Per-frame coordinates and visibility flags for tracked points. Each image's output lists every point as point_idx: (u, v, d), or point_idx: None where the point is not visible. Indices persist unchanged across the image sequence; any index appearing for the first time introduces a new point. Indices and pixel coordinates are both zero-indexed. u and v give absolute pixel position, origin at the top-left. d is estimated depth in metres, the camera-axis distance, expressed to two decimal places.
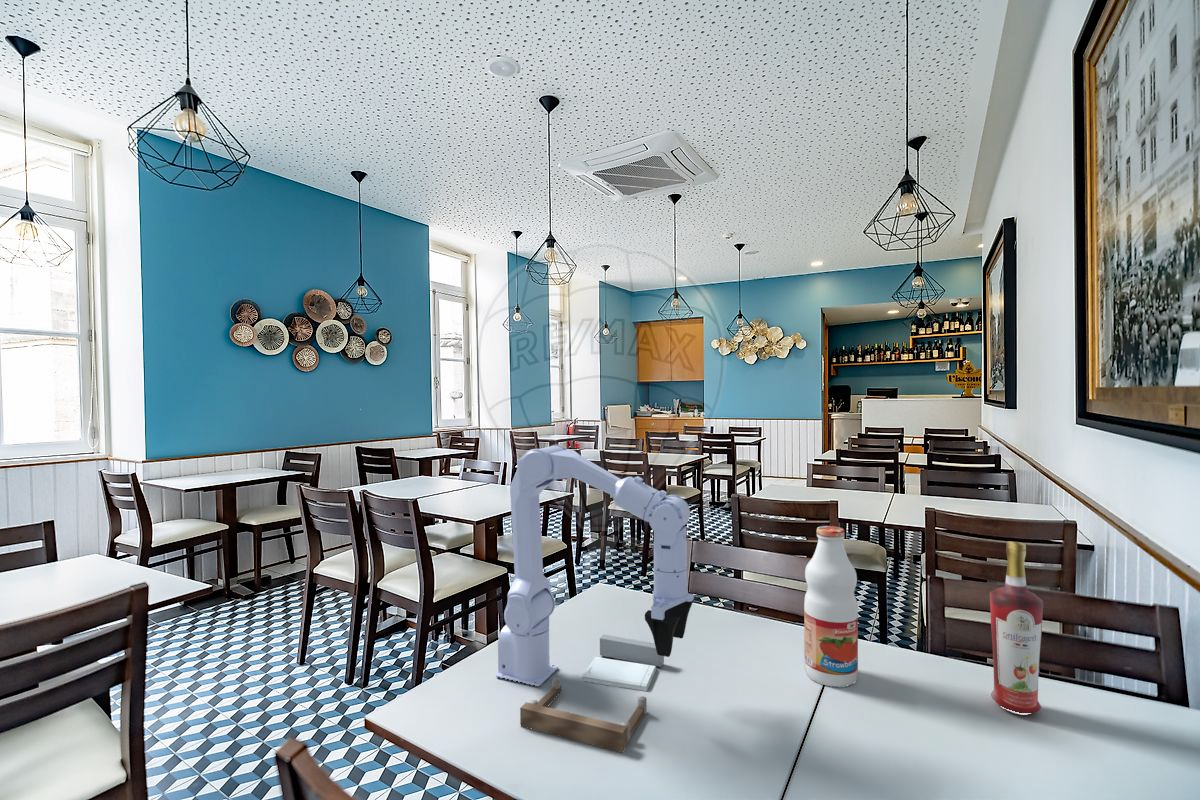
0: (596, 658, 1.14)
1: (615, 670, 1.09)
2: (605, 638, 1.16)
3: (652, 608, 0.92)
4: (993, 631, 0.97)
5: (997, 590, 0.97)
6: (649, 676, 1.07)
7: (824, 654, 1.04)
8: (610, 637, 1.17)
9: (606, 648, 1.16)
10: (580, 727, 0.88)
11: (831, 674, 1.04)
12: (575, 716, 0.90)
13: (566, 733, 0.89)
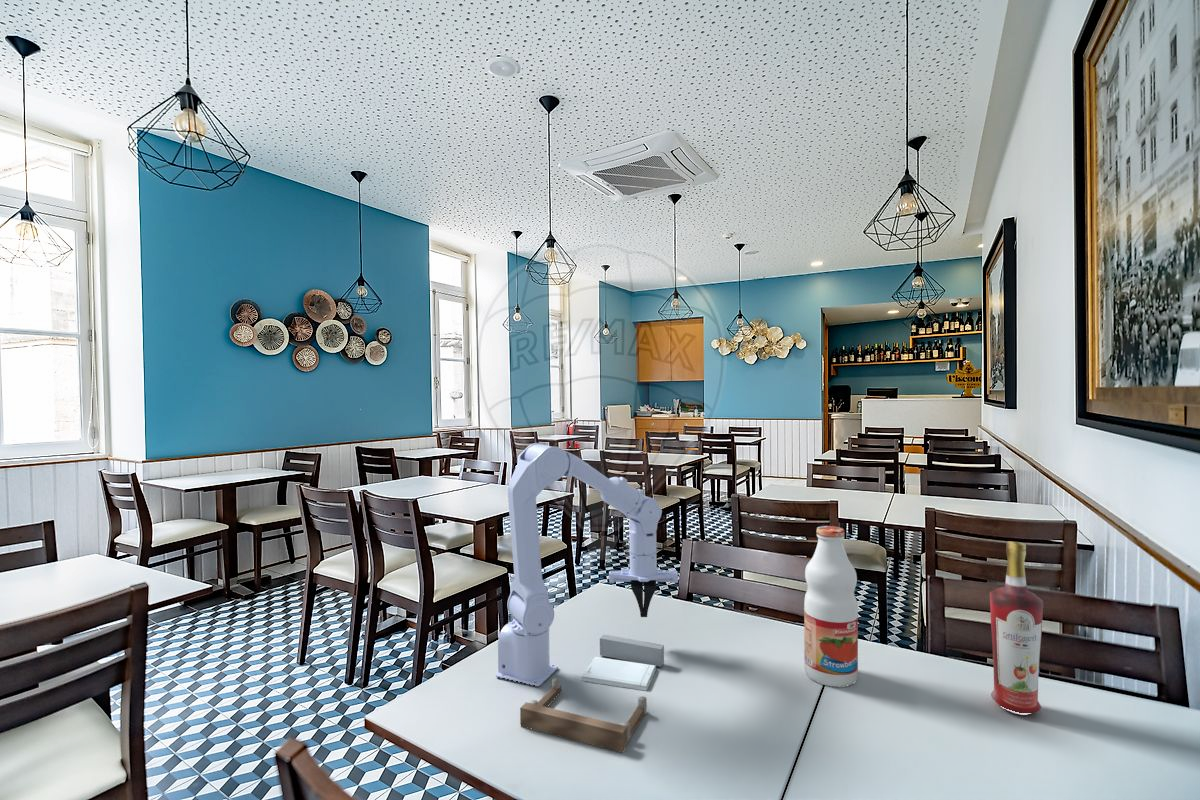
0: (596, 658, 1.14)
1: (615, 670, 1.09)
2: (605, 638, 1.16)
3: (609, 572, 1.23)
4: (993, 631, 0.97)
5: (997, 590, 0.97)
6: (649, 676, 1.07)
7: (824, 653, 1.04)
8: (610, 637, 1.17)
9: (606, 648, 1.16)
10: (580, 727, 0.88)
11: (831, 674, 1.04)
12: (575, 716, 0.90)
13: (566, 733, 0.89)
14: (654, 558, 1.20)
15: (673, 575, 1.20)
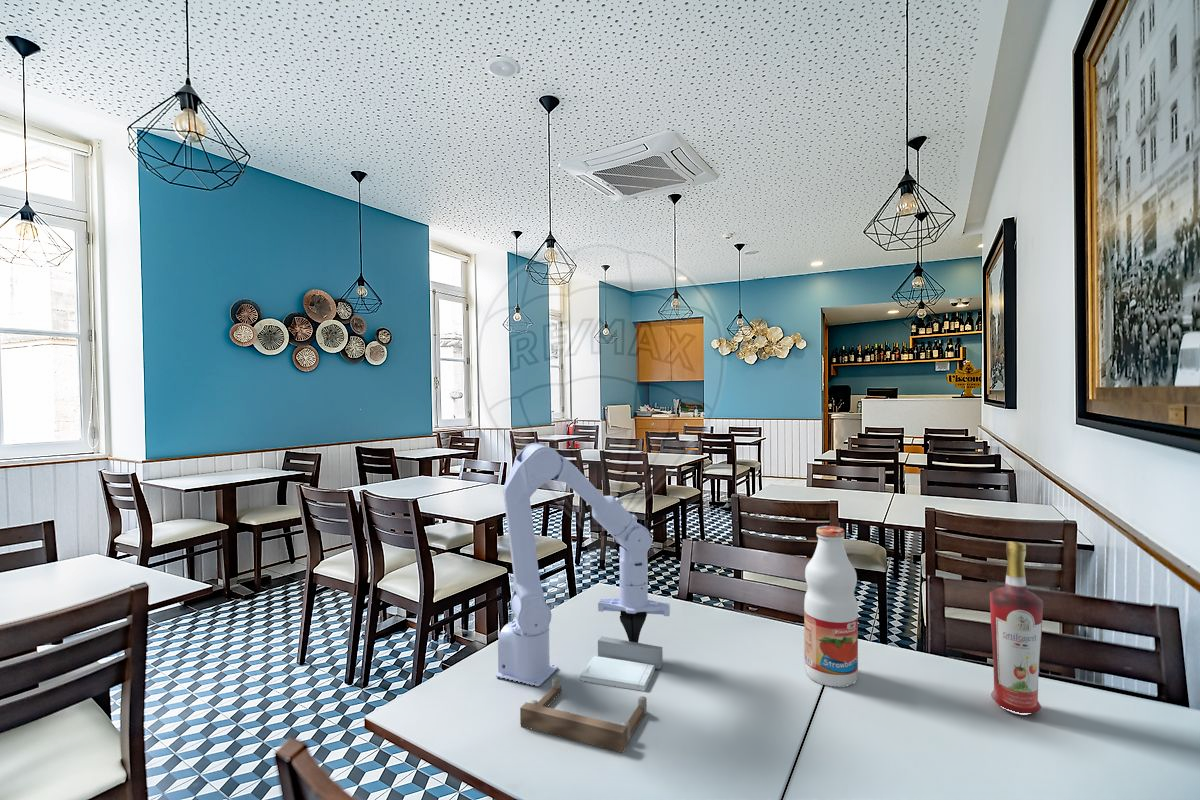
0: (595, 657, 1.14)
1: (613, 669, 1.09)
2: (603, 640, 1.16)
3: (599, 600, 1.19)
4: (993, 631, 0.97)
5: (997, 590, 0.97)
6: (647, 675, 1.07)
7: (824, 653, 1.04)
8: (608, 639, 1.16)
9: (604, 650, 1.15)
10: (580, 727, 0.88)
11: (831, 674, 1.04)
12: (575, 716, 0.90)
13: (566, 733, 0.89)
14: (644, 589, 1.14)
15: (664, 608, 1.14)
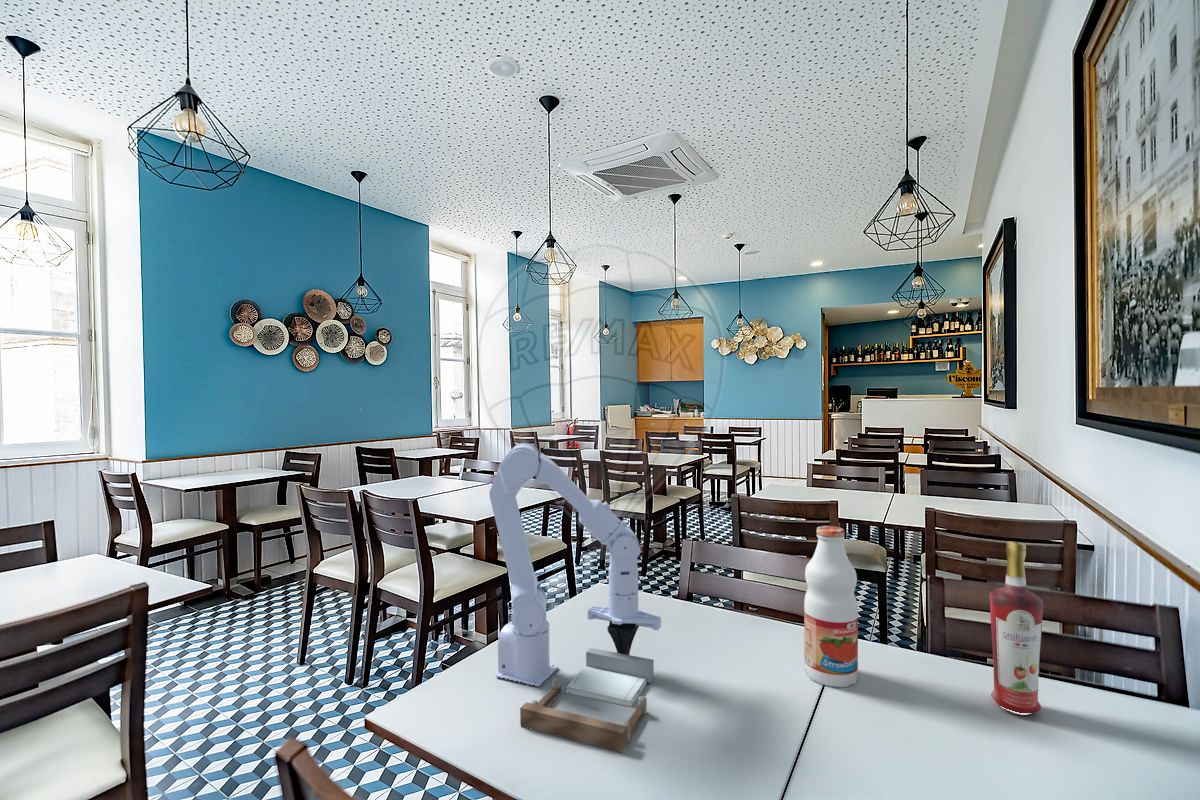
0: (585, 667, 1.09)
1: (602, 681, 1.04)
2: (592, 652, 1.10)
3: None
4: (993, 631, 0.97)
5: (997, 590, 0.97)
6: (636, 690, 1.01)
7: (824, 654, 1.04)
8: (597, 650, 1.11)
9: (593, 663, 1.10)
10: (580, 727, 0.88)
11: (831, 674, 1.04)
12: (575, 716, 0.90)
13: (566, 733, 0.89)
14: (632, 599, 1.09)
15: (653, 621, 1.07)
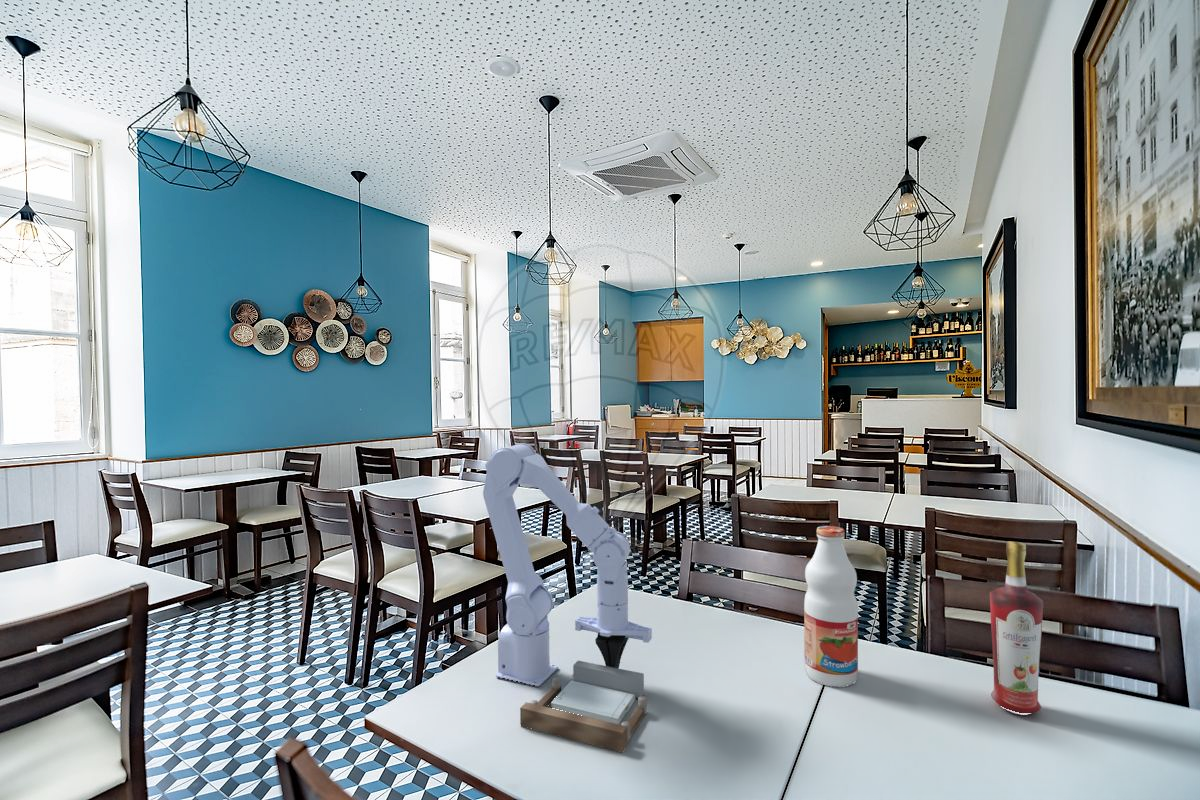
0: (572, 682, 1.04)
1: (588, 697, 0.99)
2: (579, 665, 1.05)
3: (579, 618, 1.09)
4: (993, 631, 0.97)
5: (997, 590, 0.97)
6: (624, 706, 0.96)
7: (824, 654, 1.04)
8: (585, 663, 1.06)
9: (580, 676, 1.05)
10: (580, 727, 0.88)
11: (831, 674, 1.04)
12: (575, 716, 0.90)
13: (566, 733, 0.89)
14: (621, 610, 1.03)
15: (643, 633, 1.02)
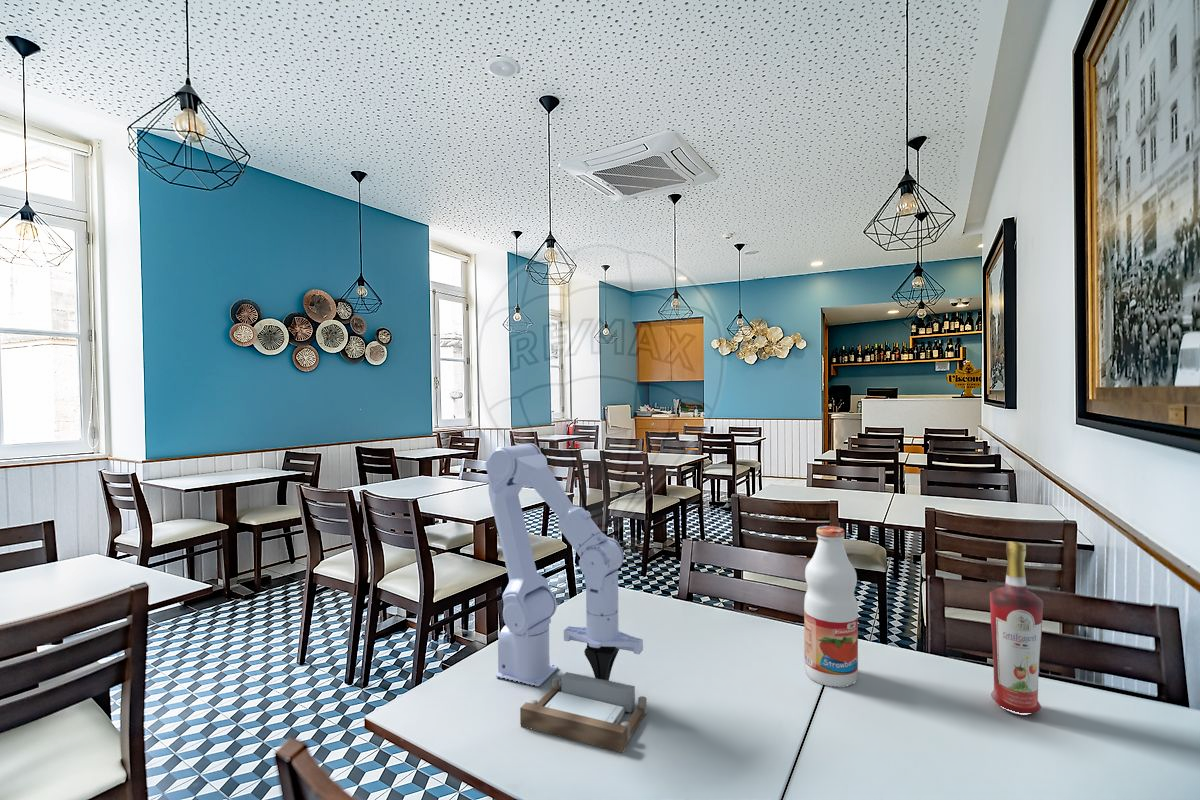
0: (559, 693, 1.00)
1: (575, 710, 0.95)
2: (568, 677, 1.01)
3: None
4: (993, 631, 0.97)
5: (997, 590, 0.97)
6: (612, 720, 0.92)
7: (824, 654, 1.04)
8: (574, 675, 1.01)
9: (569, 689, 1.00)
10: (580, 727, 0.88)
11: (831, 674, 1.04)
12: (575, 716, 0.90)
13: (566, 733, 0.89)
14: (611, 620, 0.99)
15: (634, 644, 0.98)
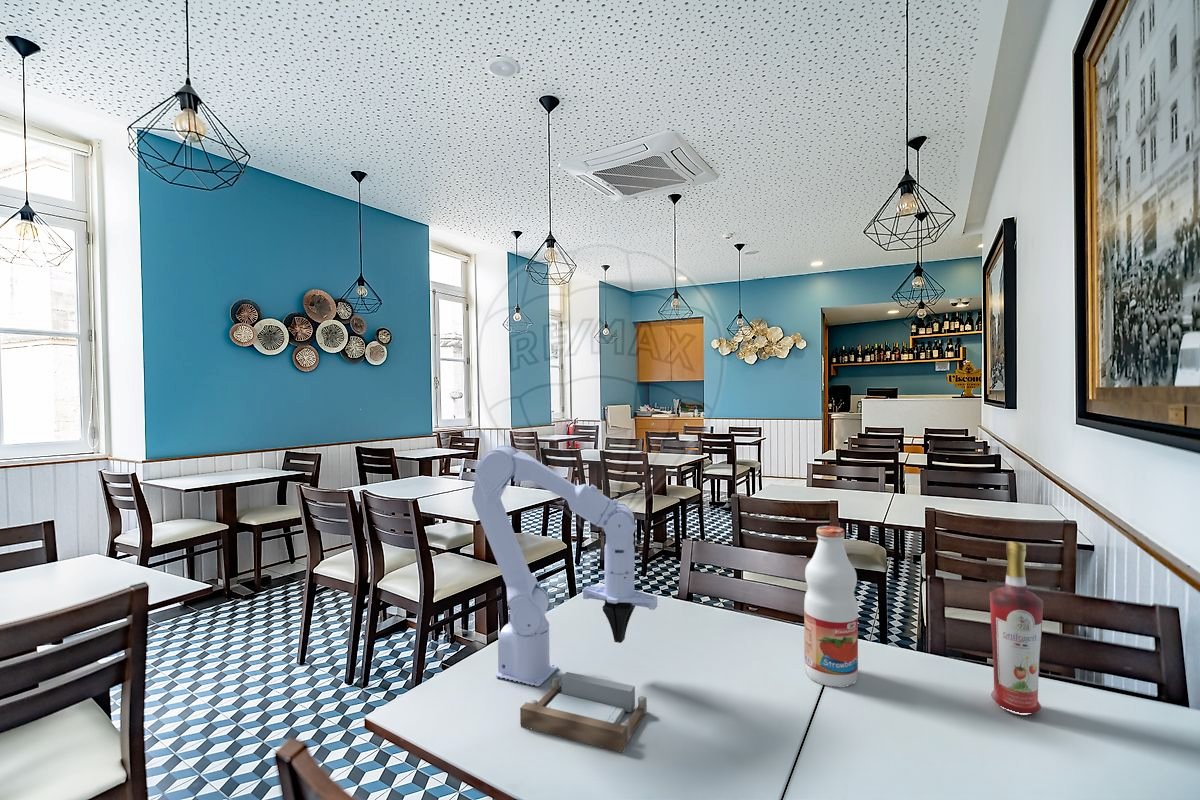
0: (559, 695, 1.00)
1: (575, 711, 0.95)
2: (568, 677, 1.01)
3: None
4: (993, 631, 0.97)
5: (997, 590, 0.97)
6: (612, 722, 0.92)
7: (824, 654, 1.04)
8: (574, 675, 1.01)
9: (569, 689, 1.00)
10: (580, 727, 0.88)
11: (831, 674, 1.04)
12: (575, 716, 0.90)
13: (566, 733, 0.89)
14: (627, 578, 1.06)
15: (649, 600, 1.05)
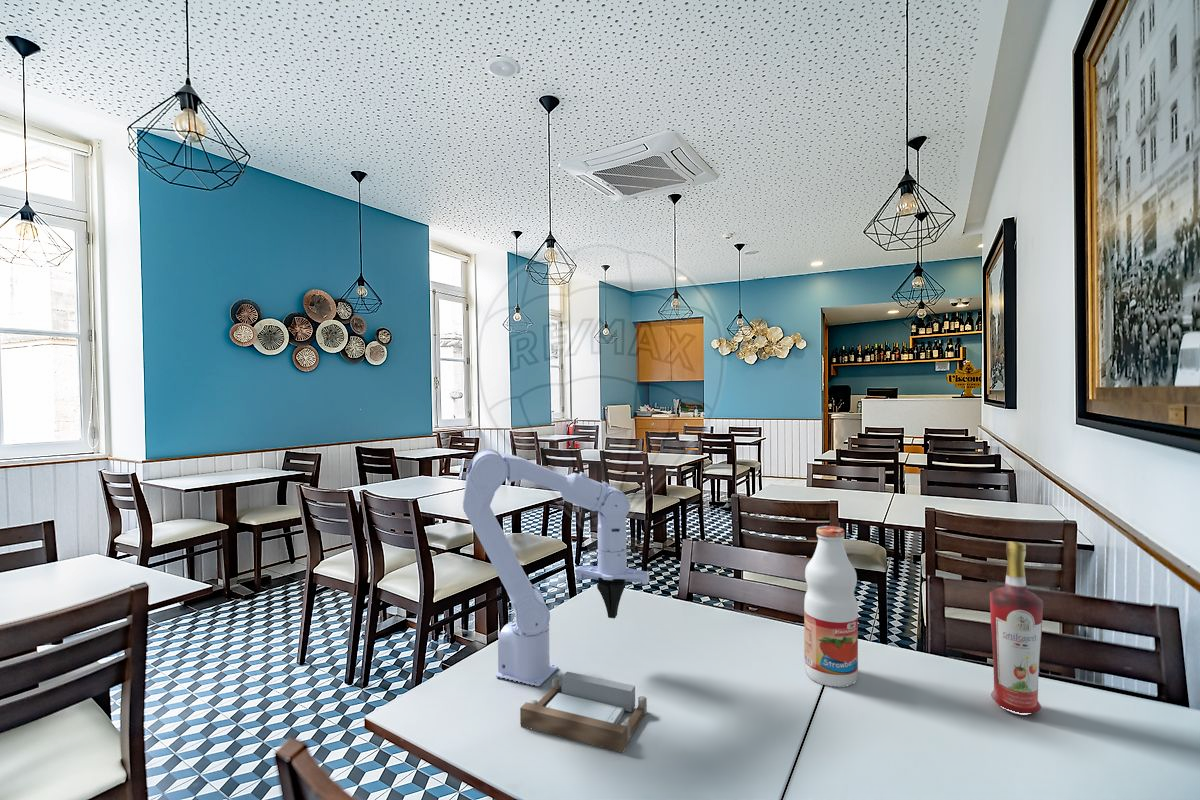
0: (558, 695, 1.00)
1: (575, 711, 0.95)
2: (568, 676, 1.01)
3: None
4: (993, 631, 0.97)
5: (997, 590, 0.97)
6: (612, 721, 0.92)
7: (824, 653, 1.04)
8: (574, 675, 1.02)
9: (569, 688, 1.00)
10: (580, 727, 0.88)
11: (831, 674, 1.04)
12: (575, 716, 0.90)
13: (566, 733, 0.89)
14: (621, 556, 1.11)
15: (642, 576, 1.11)
